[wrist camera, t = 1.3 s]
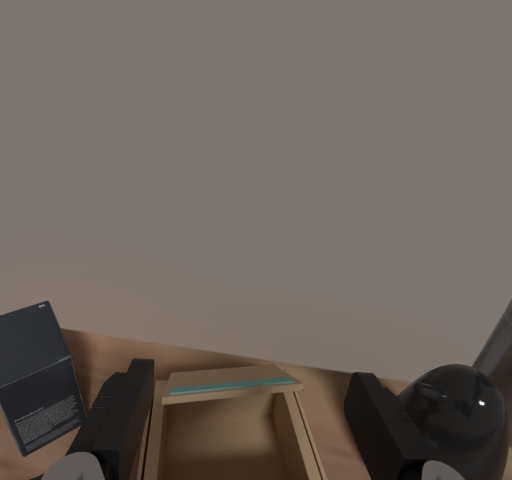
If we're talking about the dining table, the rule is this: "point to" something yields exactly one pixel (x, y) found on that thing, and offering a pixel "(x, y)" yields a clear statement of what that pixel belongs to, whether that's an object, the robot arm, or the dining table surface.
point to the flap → (228, 383)
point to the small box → (37, 378)
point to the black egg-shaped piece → (461, 419)
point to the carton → (229, 439)
